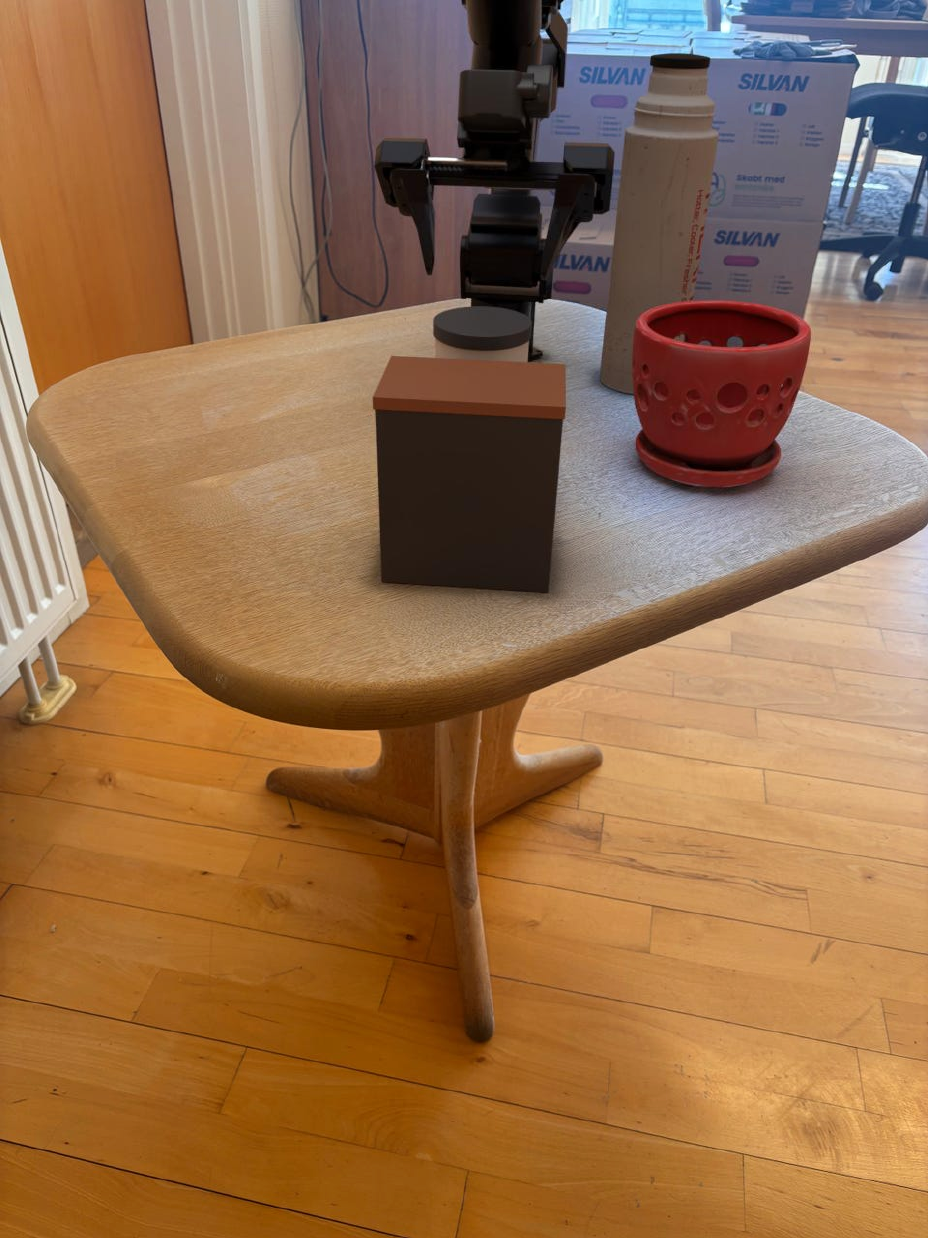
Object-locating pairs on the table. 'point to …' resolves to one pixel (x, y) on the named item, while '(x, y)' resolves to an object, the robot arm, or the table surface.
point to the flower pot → (715, 389)
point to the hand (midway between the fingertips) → (485, 275)
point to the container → (482, 334)
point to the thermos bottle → (659, 205)
